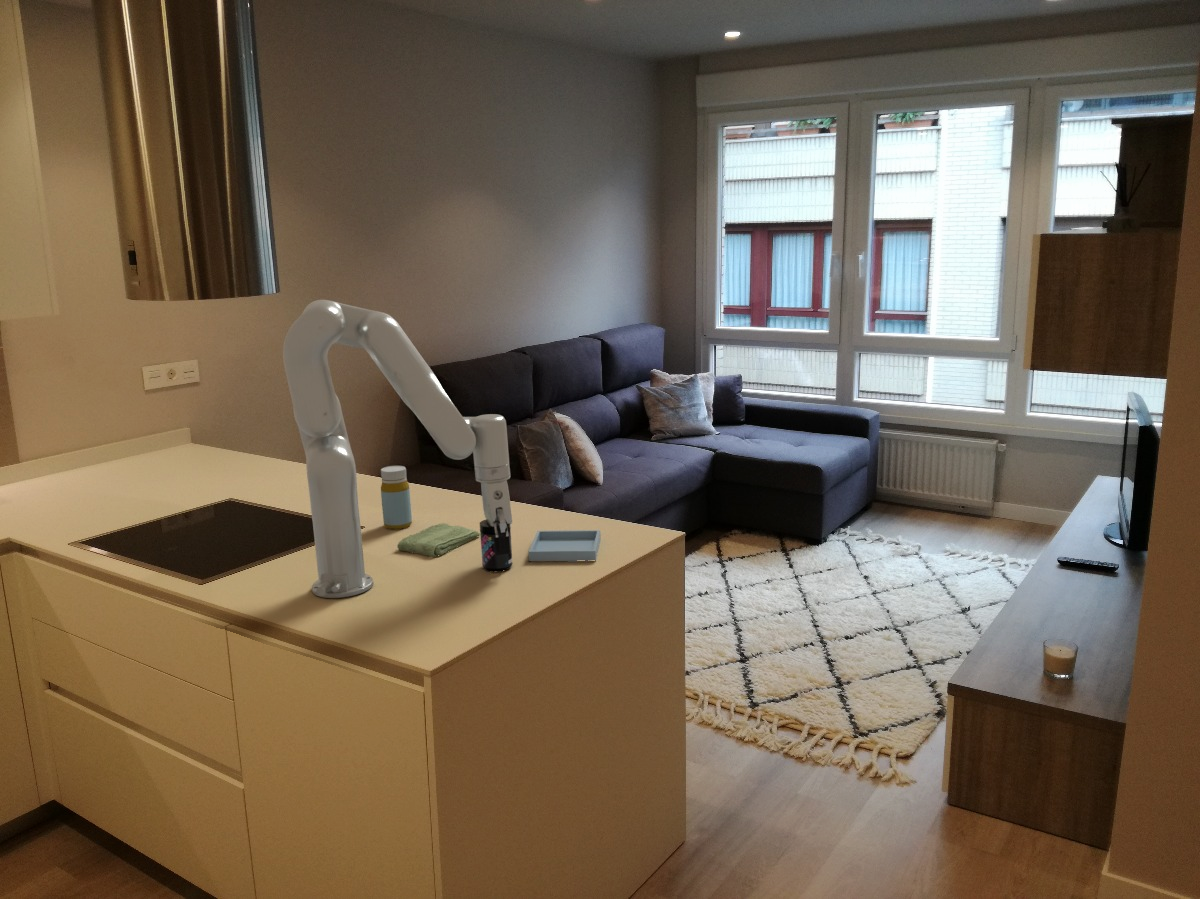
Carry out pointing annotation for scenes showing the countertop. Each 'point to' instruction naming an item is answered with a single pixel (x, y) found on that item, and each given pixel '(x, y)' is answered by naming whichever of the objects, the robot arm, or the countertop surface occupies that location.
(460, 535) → the washcloth
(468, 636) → the countertop surface
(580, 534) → the tray
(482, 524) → the supplement container
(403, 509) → the bottle
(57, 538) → the countertop surface
